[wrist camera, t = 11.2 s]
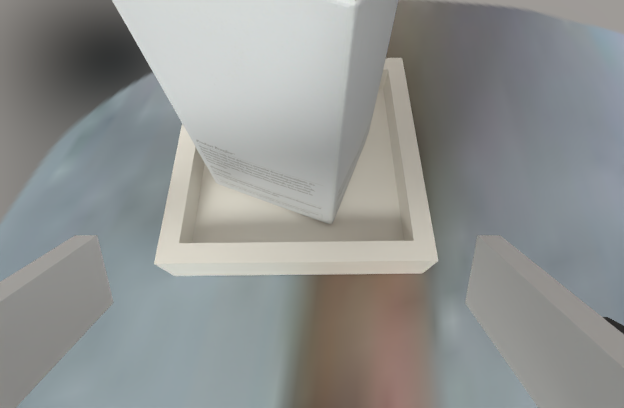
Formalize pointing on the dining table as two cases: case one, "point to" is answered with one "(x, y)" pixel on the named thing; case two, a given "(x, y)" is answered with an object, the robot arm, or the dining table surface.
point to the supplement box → (270, 88)
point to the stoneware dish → (299, 228)
